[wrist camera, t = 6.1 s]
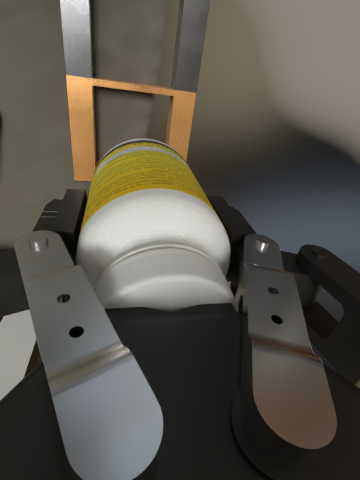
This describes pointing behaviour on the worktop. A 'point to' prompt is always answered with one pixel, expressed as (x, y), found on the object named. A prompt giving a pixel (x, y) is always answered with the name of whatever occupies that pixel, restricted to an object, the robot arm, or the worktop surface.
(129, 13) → the worktop surface
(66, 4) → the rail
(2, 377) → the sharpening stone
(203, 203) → the supplement bottle
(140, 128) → the worktop surface
